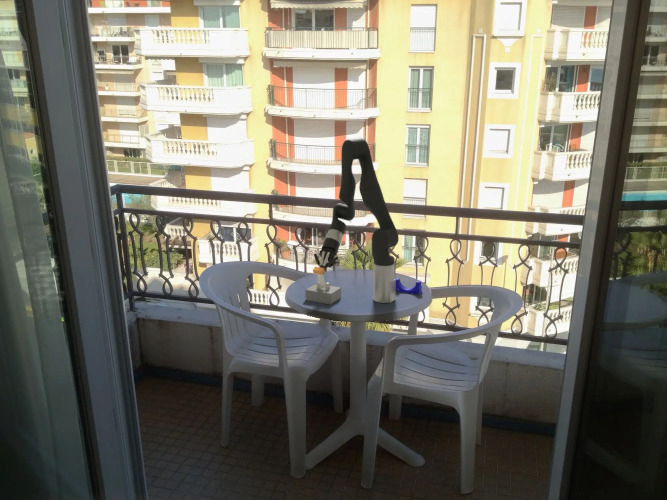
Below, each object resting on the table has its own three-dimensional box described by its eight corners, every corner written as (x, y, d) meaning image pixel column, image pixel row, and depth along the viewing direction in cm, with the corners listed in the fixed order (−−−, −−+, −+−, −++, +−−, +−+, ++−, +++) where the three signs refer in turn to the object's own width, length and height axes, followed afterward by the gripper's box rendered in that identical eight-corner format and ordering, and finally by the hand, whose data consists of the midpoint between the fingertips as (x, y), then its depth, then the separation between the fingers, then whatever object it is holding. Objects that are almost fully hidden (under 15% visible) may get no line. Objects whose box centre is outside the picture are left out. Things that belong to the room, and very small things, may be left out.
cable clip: (421, 292, 280) (422, 280, 279) (418, 294, 276) (419, 282, 275) (397, 288, 285) (397, 276, 284) (394, 291, 281) (394, 279, 280)
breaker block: (341, 298, 272) (341, 281, 270) (331, 304, 263) (331, 287, 261) (316, 294, 277) (315, 277, 275) (305, 300, 269) (305, 283, 267)
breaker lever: (328, 285, 268) (323, 267, 262) (326, 289, 267) (321, 271, 261) (319, 284, 270) (315, 266, 264) (317, 288, 269) (312, 269, 263)
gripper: (317, 235, 273) (304, 268, 266) (342, 238, 267) (330, 272, 260) (322, 244, 279) (310, 276, 272) (348, 247, 273) (336, 280, 266)
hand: (320, 274), depth 266 cm, fingers closed
